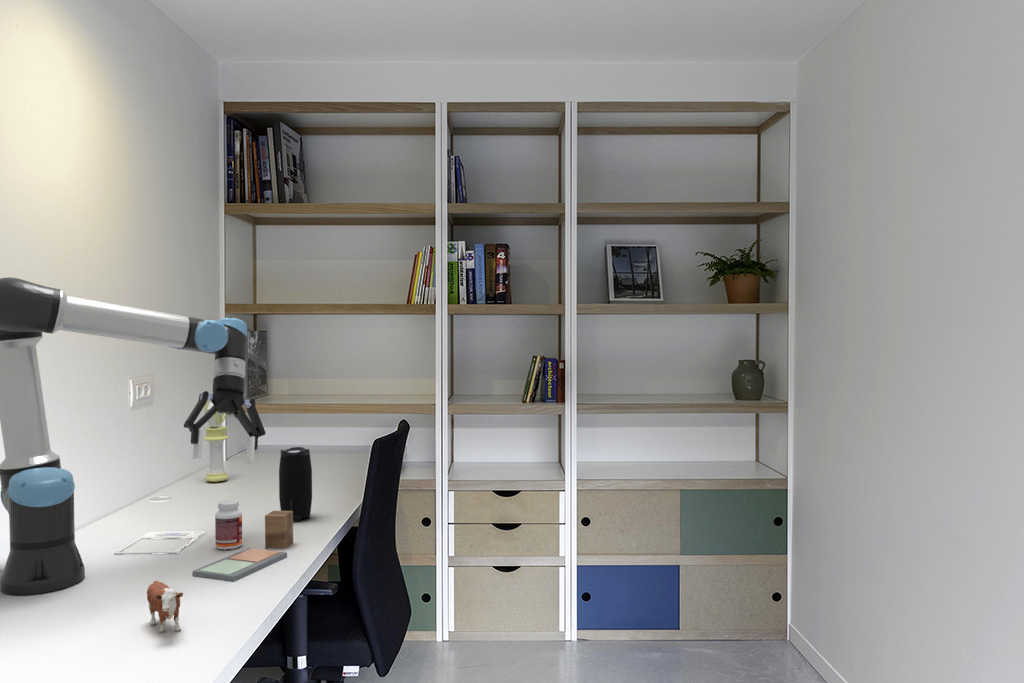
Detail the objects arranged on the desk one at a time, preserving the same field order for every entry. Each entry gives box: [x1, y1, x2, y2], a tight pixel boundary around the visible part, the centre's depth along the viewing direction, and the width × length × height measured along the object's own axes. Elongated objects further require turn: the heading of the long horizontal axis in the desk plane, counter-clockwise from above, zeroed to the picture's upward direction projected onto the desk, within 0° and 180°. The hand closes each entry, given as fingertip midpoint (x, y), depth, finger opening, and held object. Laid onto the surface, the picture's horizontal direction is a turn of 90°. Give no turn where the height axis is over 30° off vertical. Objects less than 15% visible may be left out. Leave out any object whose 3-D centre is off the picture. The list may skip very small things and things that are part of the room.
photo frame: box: [113, 530, 207, 556], centre depth 188 cm, size 15×1×18 cm
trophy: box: [203, 401, 230, 483], centre depth 263 cm, size 8×8×30 cm
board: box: [191, 547, 288, 582], centre depth 170 cm, size 18×11×1 cm, turn 160°
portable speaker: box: [278, 446, 313, 523], centre depth 211 cm, size 9×9×20 cm
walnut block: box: [264, 510, 294, 550], centre depth 185 cm, size 5×5×8 cm
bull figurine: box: [146, 580, 184, 634], centre depth 135 cm, size 4×13×8 cm, turn 36°
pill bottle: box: [214, 499, 243, 551], centre depth 184 cm, size 6×6×11 cm
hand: (223, 460), depth 185 cm, fingers open, 13 cm apart
